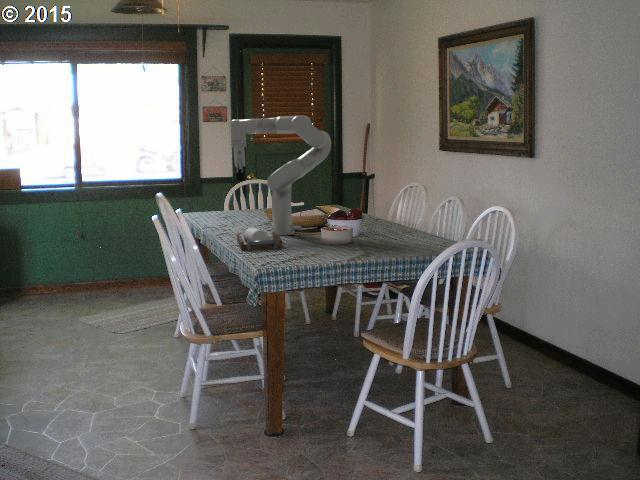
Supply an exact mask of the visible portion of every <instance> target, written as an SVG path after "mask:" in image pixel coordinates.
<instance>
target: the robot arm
mask: <svg viewBox="0 0 640 480" xmlns="http://www.w3.org/2000/svg"><path fill="white" fill-rule="evenodd" d="M229 124H230V143H231V144H230V146H231V148H233V160H234V166H235V167H236V174H235V175H236V181H237V182H242V181H244V171H243V170H244V169H243V168H244V167H246V152H245V151H246V150H245V148H247V134H248V135H254V134H257V135H258V134H297V136H298V137H300V139H302V140H303V142H304V141H305V143H307V145H308V146H310V147H311V148H310V149H309V150H307V151H305V153H303V154H301V156H299V157H297V158H296V159H292V160H290V161H289V160H288V162H286V163H285V164H283V165H282V166H280V167H279V168H278V169H276V170H274V172H273V173H271V174H270V175H269V176H268V178H267V179H266V180H267V181H266V184H267V185H266V186H267V187H268V189H269V190H270V191H272V195H271V199H272V200H271V201H272V202H271V203H272V205H271V207H272V230H271V231H269V234H271V235H272V231H275V232H276V233H277V234H278V236H290V234H292V235H294V234H293V233H295V234H296V230H297V231H299V230H302V226H301V225H293V224H292V220H293V219H292V186H293V183H294V182H296V181H297V180H299V179H302V178H303V177H304V176H305V175H306V174H308V173H309V172H310V171H312V170H313V169H315V167H317V166H319V165H320V164H321V163H322V162H323V161H324V160H325V159H326V158H327V157H328V156H329V154H330V152H331V149H332V139H331V136H330V134H329V133H328V132H326V131H324V130H319V129H318V128H317V127H315V126H314V125H313V124H312V120H311V118H310V117H309V116H307V115H287V116H286V115H285V116H284V115H282V116H281V115H280V116H276V117H269V118H268V117H266V118H265V117H263V118H248V119H232V120H230V123H229Z"/></svg>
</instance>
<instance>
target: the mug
mask: <svg viewBox="0 0 640 480" xmlns="http://www.w3.org/2000/svg"><path fill="white" fill-rule="evenodd" d="M271 239H273V236H272V235H271V234H270V233H267V232H266V231H264V230H262V229H259V228H255V227H249V228H247V229H246V230H245V232H244V233H243V241H244V243H246V244H247V241H262V240H271Z"/></svg>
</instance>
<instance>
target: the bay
mask: <svg viewBox="0 0 640 480" xmlns="http://www.w3.org/2000/svg"><path fill="white" fill-rule="evenodd" d="M271 231H272V236H273V238H272V239H268V240H262V241H247V243H246V244H245V240H244V238H243V237H242V235H241V234H240V232H236V242H237V244H238V246H239V249H240V251H247V252H251V251H259V250H260V251H261V250H275V251H277V250H281V249H283V239H282V238H281V237H280V235H278V234H277V233H276V232H275V231H273V230H271Z"/></svg>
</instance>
